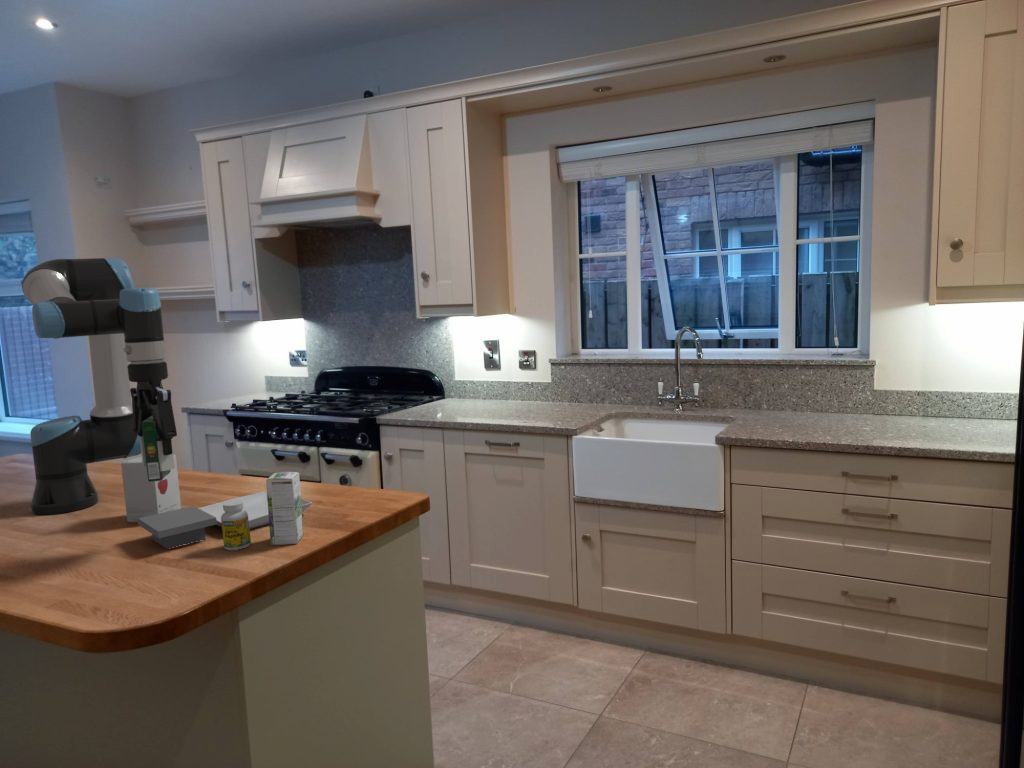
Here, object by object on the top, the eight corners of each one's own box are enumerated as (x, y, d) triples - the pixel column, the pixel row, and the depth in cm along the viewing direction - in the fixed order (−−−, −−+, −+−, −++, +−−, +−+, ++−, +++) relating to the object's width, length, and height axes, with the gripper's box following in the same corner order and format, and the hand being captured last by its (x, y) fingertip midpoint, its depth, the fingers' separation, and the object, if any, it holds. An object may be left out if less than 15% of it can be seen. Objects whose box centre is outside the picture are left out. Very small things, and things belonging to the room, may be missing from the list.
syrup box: (277, 537, 161) (271, 472, 159) (304, 535, 161) (299, 470, 159) (270, 546, 155) (264, 479, 153) (298, 544, 156) (292, 477, 154)
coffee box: (162, 481, 154) (154, 419, 153) (147, 482, 154) (140, 421, 152) (171, 472, 162) (165, 413, 161) (157, 473, 162) (151, 415, 160)
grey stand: (140, 540, 163) (137, 518, 163) (195, 526, 171) (193, 505, 171) (160, 554, 153) (158, 531, 152) (218, 539, 161) (216, 517, 160)
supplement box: (159, 523, 175) (152, 462, 173) (126, 523, 177) (119, 462, 175) (183, 512, 184) (176, 453, 182) (151, 511, 186) (145, 453, 184)
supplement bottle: (252, 541, 159) (248, 498, 158) (249, 549, 154) (245, 504, 153) (226, 544, 158) (221, 500, 157) (222, 552, 153) (217, 507, 151)
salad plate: (189, 522, 176) (187, 508, 176) (270, 501, 191) (269, 488, 191) (231, 540, 162) (229, 525, 161) (315, 515, 177) (314, 501, 177)
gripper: (107, 362, 159) (120, 465, 162) (150, 365, 146) (163, 477, 149) (143, 358, 164) (154, 458, 167) (187, 361, 151) (198, 469, 154)
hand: (158, 467), depth 158 cm, fingers closed on coffee box, 7 cm apart
